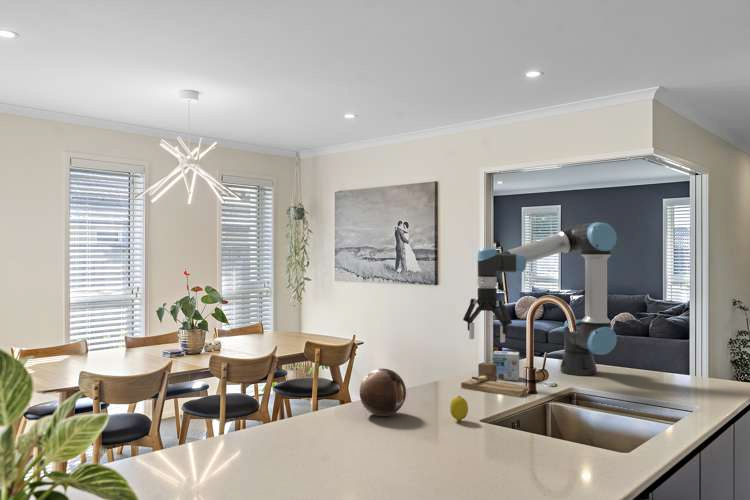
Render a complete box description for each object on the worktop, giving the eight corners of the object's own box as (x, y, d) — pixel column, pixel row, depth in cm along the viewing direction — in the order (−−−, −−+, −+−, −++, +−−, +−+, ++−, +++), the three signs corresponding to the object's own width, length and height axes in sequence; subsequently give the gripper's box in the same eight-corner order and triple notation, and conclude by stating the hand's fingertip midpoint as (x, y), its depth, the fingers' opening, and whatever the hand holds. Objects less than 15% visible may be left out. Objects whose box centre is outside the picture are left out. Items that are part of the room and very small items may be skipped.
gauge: (483, 382, 239) (483, 362, 239) (496, 384, 235) (496, 364, 235) (466, 388, 228) (465, 367, 228) (480, 390, 224) (480, 369, 224)
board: (473, 383, 236) (473, 378, 236) (530, 391, 222) (530, 386, 222) (461, 387, 228) (461, 382, 228) (519, 397, 214) (519, 391, 214)
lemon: (467, 424, 180) (467, 398, 180) (449, 423, 181) (449, 397, 181) (468, 419, 186) (468, 393, 186) (450, 418, 187) (450, 393, 187)
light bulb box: (492, 379, 244) (492, 353, 244) (493, 375, 251) (493, 350, 251) (518, 380, 241) (518, 354, 241) (519, 377, 248) (519, 351, 248)
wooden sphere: (352, 412, 194) (351, 367, 194) (391, 407, 201) (391, 363, 201) (372, 424, 180) (372, 375, 180) (414, 418, 187) (414, 370, 187)
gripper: (455, 286, 240) (455, 338, 240) (512, 289, 225) (512, 344, 225) (464, 285, 246) (464, 336, 246) (520, 288, 231) (520, 342, 230)
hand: (487, 340), depth 235 cm, fingers open, 13 cm apart
